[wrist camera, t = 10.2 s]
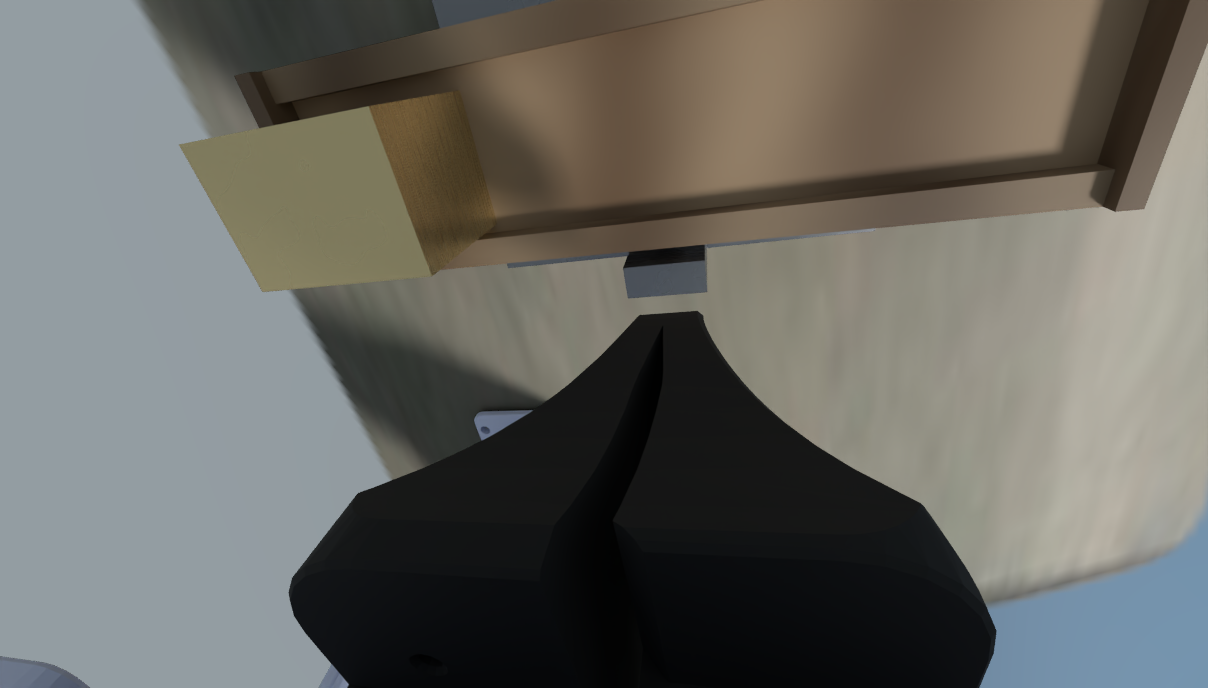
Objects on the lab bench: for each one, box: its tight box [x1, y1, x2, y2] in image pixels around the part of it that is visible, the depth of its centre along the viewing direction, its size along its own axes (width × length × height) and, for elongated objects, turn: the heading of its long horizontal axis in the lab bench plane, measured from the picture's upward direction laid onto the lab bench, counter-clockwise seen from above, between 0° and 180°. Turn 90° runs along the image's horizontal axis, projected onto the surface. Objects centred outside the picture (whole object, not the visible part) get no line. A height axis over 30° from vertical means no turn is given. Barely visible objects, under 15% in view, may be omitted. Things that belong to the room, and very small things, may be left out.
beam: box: [234, 0, 1208, 270], centre depth 13 cm, size 21×7×3 cm, turn 100°
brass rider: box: [179, 90, 497, 292], centre depth 13 cm, size 4×5×4 cm
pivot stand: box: [432, 0, 875, 298], centre depth 15 cm, size 10×14×5 cm
